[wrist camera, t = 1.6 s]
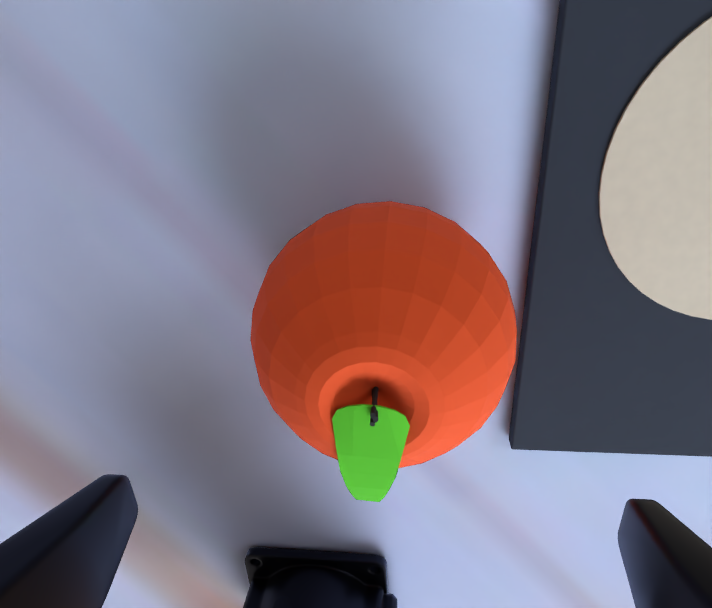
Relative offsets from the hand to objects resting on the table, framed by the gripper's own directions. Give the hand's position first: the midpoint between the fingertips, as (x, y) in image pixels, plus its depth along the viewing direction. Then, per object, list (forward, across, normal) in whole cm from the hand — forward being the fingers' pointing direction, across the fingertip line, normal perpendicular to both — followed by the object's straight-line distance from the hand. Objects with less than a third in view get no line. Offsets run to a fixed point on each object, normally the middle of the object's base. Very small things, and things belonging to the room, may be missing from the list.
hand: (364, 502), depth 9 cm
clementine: (+9, 0, 0) cm, 9 cm away
